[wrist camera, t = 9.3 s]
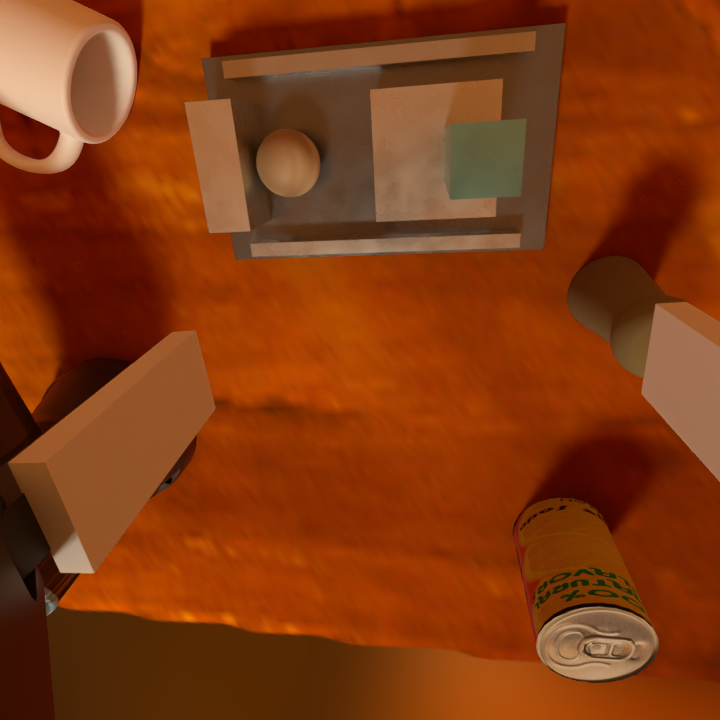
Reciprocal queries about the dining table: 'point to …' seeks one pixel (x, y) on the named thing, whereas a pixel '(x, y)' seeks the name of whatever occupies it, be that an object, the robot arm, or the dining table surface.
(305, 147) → the walnut ball
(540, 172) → the tray
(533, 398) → the dining table surface
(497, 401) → the dining table surface
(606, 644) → the beverage can
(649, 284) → the olive brown waisted cylinder
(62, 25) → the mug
